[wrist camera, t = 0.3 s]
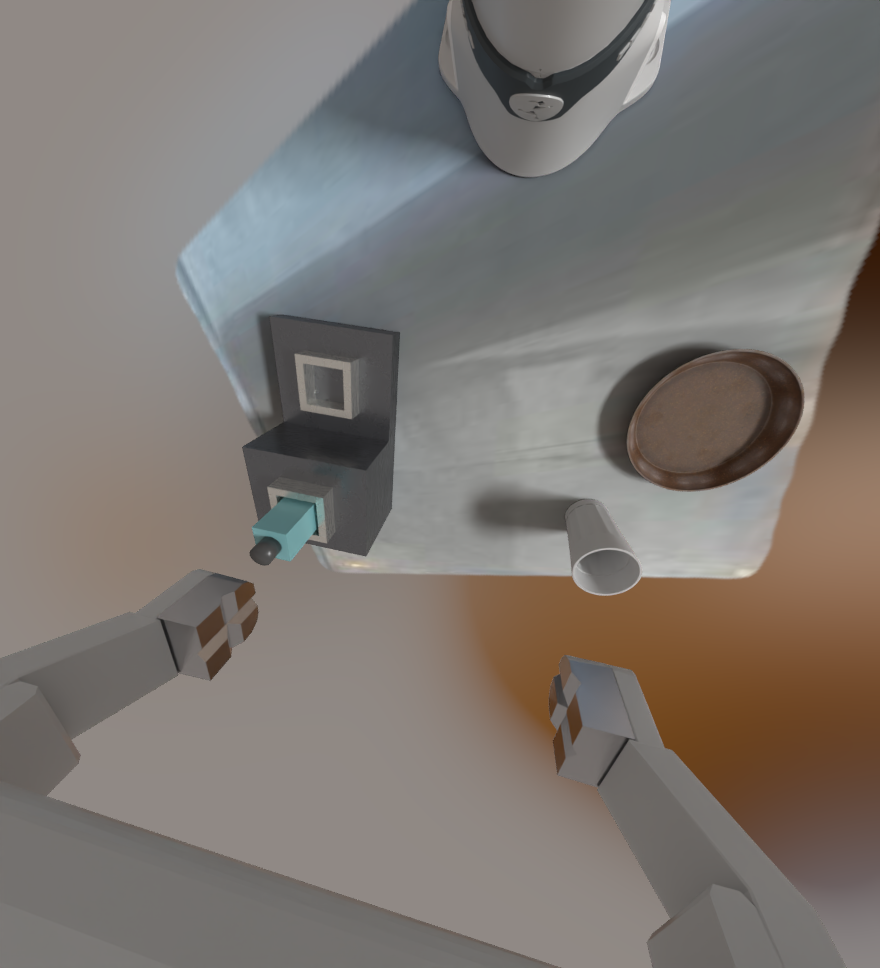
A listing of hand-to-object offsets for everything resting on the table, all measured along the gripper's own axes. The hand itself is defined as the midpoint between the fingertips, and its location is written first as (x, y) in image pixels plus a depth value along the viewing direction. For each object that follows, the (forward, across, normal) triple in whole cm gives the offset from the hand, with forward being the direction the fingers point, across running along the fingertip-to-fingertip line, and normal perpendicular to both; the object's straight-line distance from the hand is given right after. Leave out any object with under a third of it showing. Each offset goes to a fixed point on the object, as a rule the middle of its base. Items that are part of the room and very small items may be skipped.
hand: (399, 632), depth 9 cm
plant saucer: (+40, -27, -1) cm, 49 cm away
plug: (+29, +20, +16) cm, 39 cm away
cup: (+42, -19, +16) cm, 49 cm away
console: (+40, +20, +8) cm, 46 cm away
